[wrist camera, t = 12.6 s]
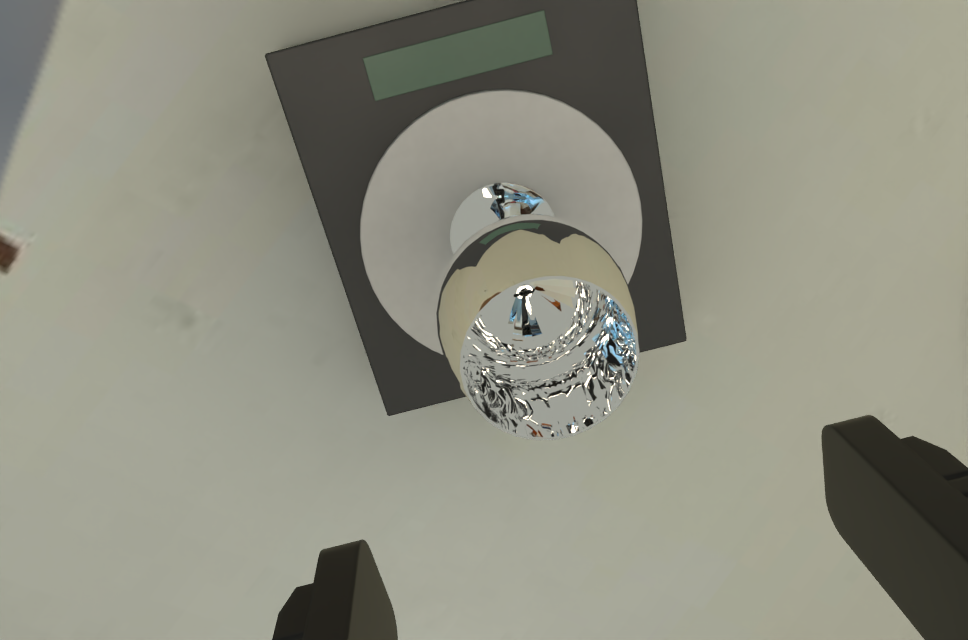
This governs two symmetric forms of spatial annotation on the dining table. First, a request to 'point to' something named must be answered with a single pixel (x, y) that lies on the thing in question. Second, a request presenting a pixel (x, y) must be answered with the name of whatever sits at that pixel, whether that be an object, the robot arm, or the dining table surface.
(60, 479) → the dining table surface
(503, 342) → the wineglass
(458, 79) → the scale
